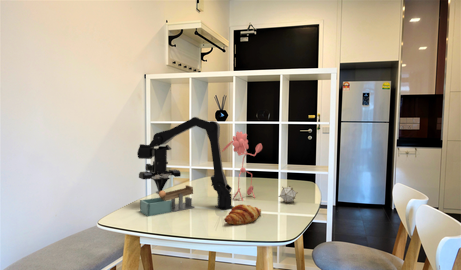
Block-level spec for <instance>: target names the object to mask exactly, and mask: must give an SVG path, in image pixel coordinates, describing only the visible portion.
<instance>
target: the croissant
mask: <svg viewBox="0 0 461 270" xmlns="http://www.w3.org/2000/svg"><path fill="white" fill-rule="evenodd" d="M230 209H231V210H230V211H229V212H228V214H227V215H226V216H225V218H223V219H224V220H223V221H224V223H226V224H229V225H236V226H238V225H243V224H249V223H253V222H254V221H256V220H257V219H258V217H259V216H260V215H262V209H261V208H258V207H256V206H253V205H249V204H247V205H246V204H235V206H234V207H233V208H230Z"/></svg>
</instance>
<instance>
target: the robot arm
mask: <svg viewBox="0 0 461 270" xmlns="http://www.w3.org/2000/svg"><path fill="white" fill-rule="evenodd" d="M195 127H198V128H200V129H203V130H205V131H206V135H207V138H208V139H209V142H210V150H211V159H212V165H213V174H212V176H210V180H211V181H210V182H211V187H212V188H213V190H214V191H215V192H216V193H217V204H216V205H214V207H215V208H216V209H220V210H222V211H223V210H229V209H232V208H233V207H235V206H234V205H232V194H231V192H232V190H233V188H232V186H230V185H229V183H228V179H227V177H226V174H225V172H224V167H223V162H222V154H221V152H222V151H221V146H220V145H221V144H220V135H221V126H220V123H218V121H213V120H210V121H207V120H206V119H203V118H199V117H197V116H194V117H191V118H190V119H188V120H186V121H183V123H180V124H178V125H176V126H174V127H173V128H170V129H167V130H162V131H159V132H156V133H155V134H153V137H152V140H151V141H150V143H149V144H145V143H144V144H139V146H138V149H137V158H138V159H140V160H142V159H144V160H152V159H153V158H154V159H153V161H152V164H151V163H145V171H140V172H139V173H138V178H139V179H141V180H153V181H154V184H155V186H156V189H157V191H158V192H160V191H164V190H163V189H164V188H165V185H166V184H167V182H168V180H170V179H171V178H170V177H169V176H174V177H175V178H177V177H178V178H179V177H181V171H180V170H178V169H176V168H175V169H168V170H167V168H168V167H167V166H168V165H169V161H168V160H167V159H168V151H171V150H172V148H171V146H169V144H167V143H169V142H171V141H172V140H173V139H174V138H175V137H177V136H179V135H180V134H183V133H185V132H187V131H189V130H191V129H193V128H195ZM164 145H165V146H164Z"/></svg>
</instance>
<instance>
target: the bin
mask: <svg viewBox="0 0 461 270" xmlns="http://www.w3.org/2000/svg"><path fill="white" fill-rule="evenodd" d="M139 212H140V213H141V214H143V215H145V216H147V217H152V216H158V215H164V214H168V213H169V214H170V213H172V201H171V200H167V201H164V200H162V199H160V196H159V197H154V198H153V197H152V198H147V199H146V198H145V199H140V200H139Z"/></svg>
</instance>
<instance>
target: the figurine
mask: <svg viewBox="0 0 461 270" xmlns="http://www.w3.org/2000/svg"><path fill="white" fill-rule="evenodd" d="M247 136H248V134H247V133H243V131H240V132H239V131H236V132H235V135H233V136H232V140H231V141H229V142H228V143H227V144H226V145H225V146H224V148H222V150H221V152H222V153H223V152H224V151H226V150H227V149H228V148H229V147H230V146H231V145H232V146H233V152H234V153H237V155H238V156H239V157H240V156H243V158H242V164H241V168H240V173H239V175H238V177H240V176H241V173H243V174H244V173H248V174H250V175H251V176H250V184H252V180H253V173H251V172H249V171H246V168H245V167H244V161H245V157H246V156H247V155H250V156H253V157H255V156H256V155H257V154H258V153H260V152H262V150H263V145H262V143H258V144H257V145H256V146H255V153H254V154H252V153H248V151H247V150H248V149H249V144H248V143H249V140H248V139H247V138H248V137H247ZM237 183H238V184H237V191H236V193H233V194H231V196H232V195H234V196H233V197H232V200H234V199H235V198H236V197H237V195H239V196H240V199H241V201H242V202H243V201H244V199H243V197H242V193H241V188H240V178H238V182H237ZM246 194H247V195H248V196H250V195H251V194H252V196H253V198H254V199H255V198H256V196H255V194H254V186H253V185H250V186H249V187H248V189H247V191H246Z"/></svg>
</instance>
